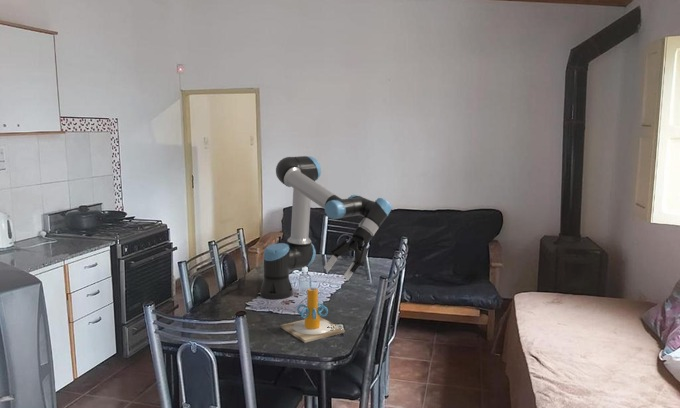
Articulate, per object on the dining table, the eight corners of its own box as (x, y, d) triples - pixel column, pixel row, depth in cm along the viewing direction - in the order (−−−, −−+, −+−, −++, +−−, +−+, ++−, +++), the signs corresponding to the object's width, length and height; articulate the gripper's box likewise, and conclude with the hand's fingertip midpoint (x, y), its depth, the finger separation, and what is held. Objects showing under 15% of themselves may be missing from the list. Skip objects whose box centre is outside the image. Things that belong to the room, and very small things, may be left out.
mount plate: (280, 327, 208) (280, 324, 208) (319, 318, 218) (319, 315, 218) (304, 342, 194) (304, 339, 193) (344, 332, 204) (344, 329, 204)
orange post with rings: (313, 319, 214) (313, 283, 212) (332, 325, 207) (333, 288, 205) (291, 327, 205) (291, 289, 203) (310, 334, 198) (311, 295, 196)
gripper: (390, 243, 208) (360, 287, 202) (352, 231, 228) (323, 271, 223) (379, 231, 204) (348, 276, 199) (342, 220, 224) (313, 261, 219)
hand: (335, 273), depth 211 cm, fingers open, 13 cm apart
